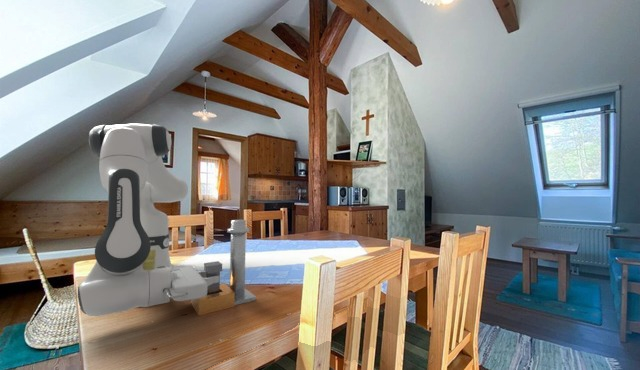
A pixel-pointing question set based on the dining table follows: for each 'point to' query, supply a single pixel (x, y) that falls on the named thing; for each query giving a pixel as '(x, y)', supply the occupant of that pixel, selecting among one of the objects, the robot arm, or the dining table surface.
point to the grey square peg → (211, 270)
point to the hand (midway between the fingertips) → (216, 276)
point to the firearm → (150, 261)
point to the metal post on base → (237, 276)
